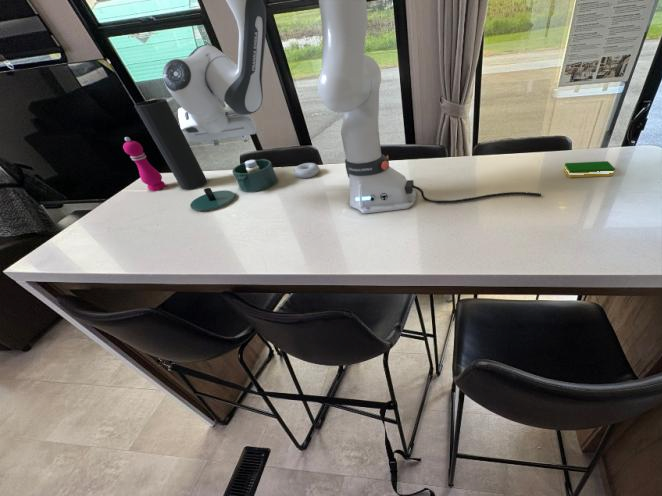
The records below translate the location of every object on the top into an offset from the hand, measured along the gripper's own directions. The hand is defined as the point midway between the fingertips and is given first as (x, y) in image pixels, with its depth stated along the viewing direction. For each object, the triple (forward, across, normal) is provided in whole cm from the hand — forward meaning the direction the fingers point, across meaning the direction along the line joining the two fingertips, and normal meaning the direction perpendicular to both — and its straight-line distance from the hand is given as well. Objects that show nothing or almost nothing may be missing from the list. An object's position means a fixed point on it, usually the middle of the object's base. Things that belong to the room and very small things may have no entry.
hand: (231, 141), depth 105 cm
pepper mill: (+33, +44, -5) cm, 55 cm away
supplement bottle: (+22, 0, +5) cm, 23 cm away
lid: (+14, +15, +12) cm, 24 cm away
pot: (+22, 0, +5) cm, 23 cm away
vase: (+30, +28, -3) cm, 41 cm away
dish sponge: (-5, -116, +32) cm, 120 cm away
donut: (+24, -20, +4) cm, 31 cm away
